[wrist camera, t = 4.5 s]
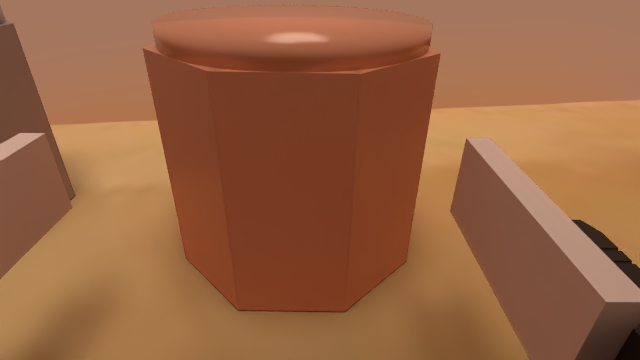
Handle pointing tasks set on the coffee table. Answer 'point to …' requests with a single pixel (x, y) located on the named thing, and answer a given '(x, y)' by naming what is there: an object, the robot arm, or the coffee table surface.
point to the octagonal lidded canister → (293, 145)
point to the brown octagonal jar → (22, 97)
